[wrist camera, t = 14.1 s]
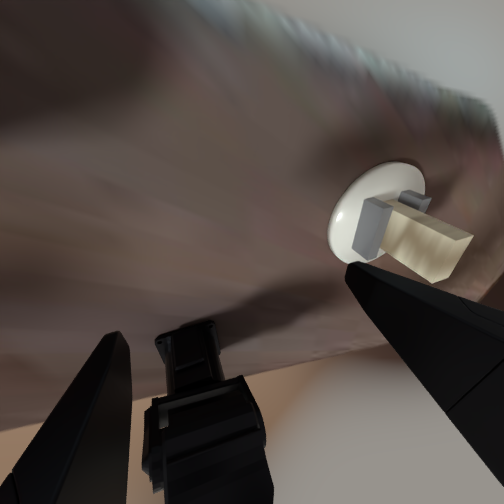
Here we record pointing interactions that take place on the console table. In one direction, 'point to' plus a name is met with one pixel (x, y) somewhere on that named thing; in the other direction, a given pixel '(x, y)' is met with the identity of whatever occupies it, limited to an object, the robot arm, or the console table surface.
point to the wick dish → (373, 209)
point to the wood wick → (423, 242)
